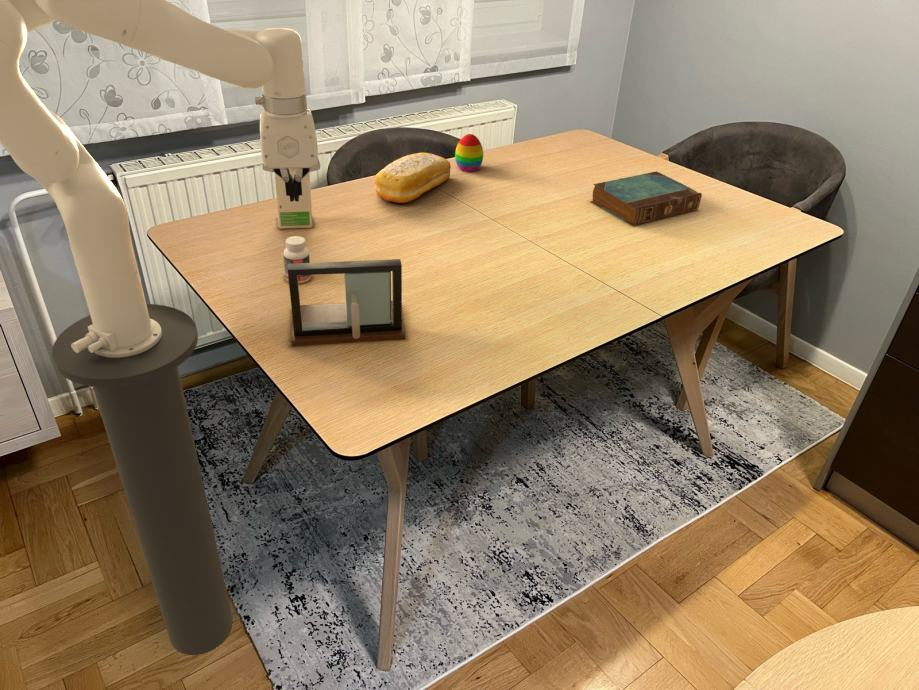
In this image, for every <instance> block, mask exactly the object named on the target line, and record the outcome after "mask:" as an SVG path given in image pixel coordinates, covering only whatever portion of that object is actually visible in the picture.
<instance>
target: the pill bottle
mask: <svg viewBox="0 0 919 690" xmlns="http://www.w3.org/2000/svg"><path fill="white" fill-rule="evenodd" d="M310 260H311V259H310V251H309V249H308V248H307V247H306V239H305V238H304V237H302V236H300V235H299V236H297V235H293V236H289V237H288V238H286V239H285V249H284V250H283V265H284V275H285V280H286V281H287V282H289V279H288V264H296V263H311V261H310ZM311 277H312V275H299V276H298V284H304V283H306V282H308V281H309V280H310V279H311Z"/></svg>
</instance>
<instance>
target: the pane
mask: <svg viewBox="0 0 919 690" xmlns="http://www.w3.org/2000/svg"><path fill="white" fill-rule="evenodd" d="M344 288H345V303H346V310H347V326H352V336H353V338H355V339H358V338H359V337H360V325H371V324H389V323H390V272H389V271H388V272H366V273H344Z"/></svg>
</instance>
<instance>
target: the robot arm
mask: <svg viewBox="0 0 919 690" xmlns="http://www.w3.org/2000/svg"><path fill="white" fill-rule="evenodd" d="M55 21H56V22H58V23H60V24H63V25H64V26H66V27H67V26H68V27H69V28H72V29H75V30H79V31H81V32H85V33H88V34H91V35H94V36H96V37H99V38H102V39H105V40H108V41H111V42H114V43H118V44H120V45H123V46H125V47H128V48H130V49H134V50H136V51H140V52H142V53H144V54H148V55H150V56H153V57H155V58H157V59H160V60H163V61H166V62H169V63H172V64H175V65H178V66H181V67H183V68H186V69H189V70H191V71H194V72H197V73H199V74H202V75H205V76H207V77H210V78H212V79H215V80H219V81H221V82H225V83H227V84H230V85H233V86H236V87H240V88H243V89H246V90H254V89H255V90H256V89H259V88H262V94H261V95H259V96H255V97H254V101H255V102H254V103H255V105H256V106H262V108H263V109H262V110H261V112H260V116H259V135H260V136H259V138H260V139H259V140H260V149H261V150H260V152H261V160H262V167H261V168H262V170H263V171H264V172H269V173H274V172H275V173H276V174H277V175H278V176H279V177H281V178H282V179H283V181H284V182H285V188H286V196H290V202H293V201H294V198H295V201H296V202H298V201H299V196H302V184H301V180H302V179H303V178H304V177H305V175H306V174H307V173H308V172H310V173H312V172H315V171H319V170H320V169H321V162H320V159H319V149H318V139H317V133H316V126H315V121H314V118H313V113H312V111H311V108H308V102H307V92H306V80H305V68H304V67H305V65H304V53H303V42H302V39H301V36H300V33H298V32H297V31H296V30H294V29H291V28H285V27H273V28H266V29H263V30H243V29H224V28H221V27H218V26H216V25H214V24H211V23H209V22H207V21H204V20H202V19H200V18H199V17H196V16H194V15H192V14H190V13H189V12H187V11H186V10H183V9H182V8H180V7H179V6H177V5H175V4H173V3H171V2H169V1H167V0H0V145H1V146H2V147H3V148H4V150H5V151H6V152H7V153H8V154H9V155H10V157H11V158H12V160H13V161H14V163H15V164H16V166H18V167H19V169H20V170H22V172H23V173H25V174H26V175H28V176H29V177H31V178H33V179H35V180H36V181H37V182H38V183H39V184H40V186H42V188H43V189H44V190H45V191H46V192H47V193H48V194H49V196H50V197H51V198H52V199H53V201H54V203H55V204H56V207H57V210H58V212H59V213H60V216H61V218H62V221H63V223H64V226H65V231H66V233H67V237H68V241H69V246H70V249H71V253H72V258H73V261H74V264H75V269H76V271H77V273H78V274H77V275H78V278H79V280H80V284H81V288H82V291H83V294H84V298H85V301H86V306H87V308H88V313H89V315H90V316H91V319H92V323H93V324H92V325H90V326H88V330H89V333H87V334H86V335H85V336H86V337H84V338H82V339H80V340H78V341H76V342H74V343H72V344H71V347H72V349H73V350H74V351H75V352H76V353H79V352H81V351H83V350H84V349H86V348H87V347H88V350H89V351H90V352H91V353H93V352H94V353H96V354H98V355H100V356H104V357H110V358H122V357H129V356H133V355H137V354H140V353H142V352H145V351H147V350H149V349H150V348H152V347H153V346H154V345H156V344H157V343H158V341H159V340H160V338H161V336H162V331H161V327H160V325H159V324H158V323H157V322H156V321H154V320H152V319H150V318H149V314H148V309H147V305H146V304H147V301H146V297H145V293H144V289H143V285H142V280H141V275H140V272H139V271H140V270H139V267H138V262H137V259H136V256H135V255H136V253H135V250H134V246H133V245H134V244H133V242H132V235H131V229H130V221H129V219H130V218H129V214H128V210H127V207H126V203H125V201H124V199H123V197H122V195H121V193H120V192H119V191H118V189H117V187H116V186H115V185H114V183H113V182H112V181H111V180H110V178H109V177H108V175H107V174H106V173H105V171H104V170H103V169H102V167H100V165H99V164H98V162H97V161H96V160H95V159H94V158H93V157H92V155H91V154H90V153H89V152H88V150H87V149H86V148H85V147H84V145H83V144H82V143H81V142H80V140H79V139H78V138H77V137H76V135H75V134H74V133H73V132H72V130H71V128H69V126H68V125H67V124H66V122H65V121H64V120H63V119H62V118H61V117H60V116H59V115H58V114H57V113H55V112H54V111H52V110H50V109H48V108H47V106H46V105H45V104H44V103H43V101H41V99H40V98H39V96H38V95H37V94H36V92H35V90H33V89H32V87H31V85H29V83H28V82H27V81H26V80H25V78H24V77H23V75H22V73H21V71H20V70H21V69H20V58H21V56H22V54H23V52H24V49H25V48H26V44H27V40H28V33H30V32H33V31H35V30H39V29H40V28H43V27H44V26H47V25H50V24H51V23H54V22H55ZM289 168H296V174H295V175H294V179H293V178H292V176H291V174H290V172H289Z"/></svg>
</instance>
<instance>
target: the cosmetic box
mask: <svg viewBox="0 0 919 690" xmlns="http://www.w3.org/2000/svg"><path fill="white" fill-rule="evenodd" d="M289 172H290V174H291V176H292V178H293V179H294V175H295V174H296V168H289ZM273 173H274V175H273V177H274V188H275V202H276V212H277V225H278V229H311V228H312V229H313V210H312V191H311V189H312V188H311V172H308V173H307V174H306V175H305V177H304V178H303V179H302V180H301V184H302V196H299V201H298V202H296V201H295V198H294V201H293V202H290V196H286V188H285V182H284V181H283V179H282V178H281V177H279V176H278V175H277V174H276V173H275V172H273Z"/></svg>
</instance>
